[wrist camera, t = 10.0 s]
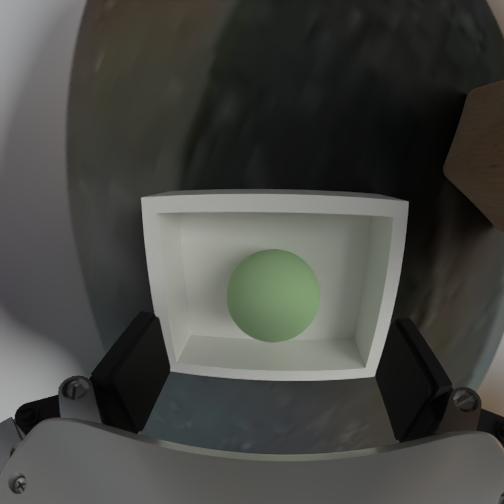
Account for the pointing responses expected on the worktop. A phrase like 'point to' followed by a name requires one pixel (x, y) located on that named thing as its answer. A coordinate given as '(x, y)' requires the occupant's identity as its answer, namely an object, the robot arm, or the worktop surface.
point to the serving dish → (282, 238)
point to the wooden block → (480, 152)
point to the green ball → (273, 295)
